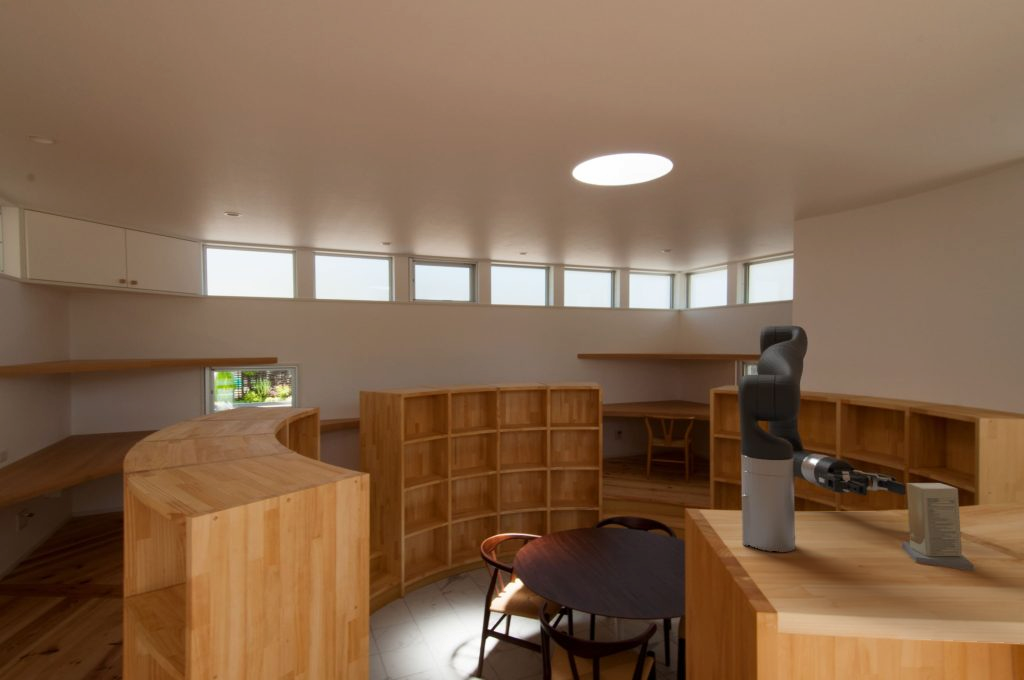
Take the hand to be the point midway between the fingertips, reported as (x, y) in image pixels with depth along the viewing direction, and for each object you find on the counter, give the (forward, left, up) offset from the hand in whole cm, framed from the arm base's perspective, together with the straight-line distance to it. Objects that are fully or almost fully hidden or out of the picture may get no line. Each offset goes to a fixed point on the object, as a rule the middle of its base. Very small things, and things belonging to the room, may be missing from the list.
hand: (884, 490), depth 101 cm
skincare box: (+5, -9, -9) cm, 14 cm away
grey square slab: (+5, -9, -9) cm, 14 cm away
